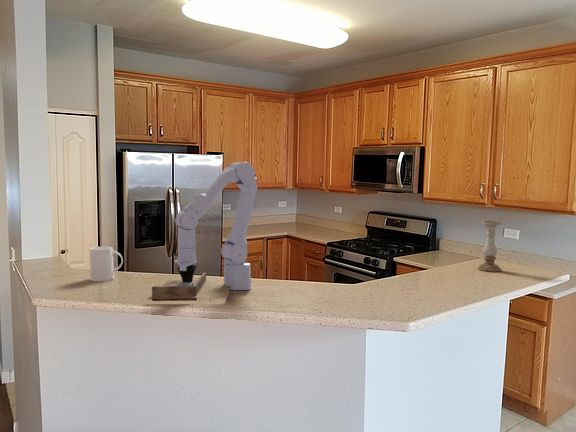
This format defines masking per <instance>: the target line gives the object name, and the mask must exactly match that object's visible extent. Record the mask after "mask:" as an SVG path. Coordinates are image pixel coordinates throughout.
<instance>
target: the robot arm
mask: <svg viewBox="0 0 576 432" xmlns="http://www.w3.org/2000/svg"><path fill="white" fill-rule="evenodd" d="M256 173H257V171H256V170H255V168H254V167H253V165H252V164H251V163H250V162H248V161H242V162H236V161H235V162H231V163H230V164H228V165H227V167H225V168H224V169H223V170H222V172H221V173H220V174H219V176H217V178H216V179H215V180H214V181H213V182H212V184H211V185H210V186H209V187H208V188H207V189H206V190H205V192H204V193H198V194H195V195H194V196H192V198H193V200H191V201H190V203H189V204H188V205H186V206H184V207H183V208H182V209H183V210H182V211H180V212H178V213H177V214H176V216H175V219H174V223H175V226H177V257H178V258H177V259H175V260H174V264H178V266H177V271H178V273H179V275H180V277H181V281H183V282H193V281H194V280H193V279H194V275H195V271H196V270H197V264H196V263H197V262H198V261H197V250H196V248H197V247H196V227H197V226H198V224H199V220H200V219H201V218H202V216H204V215H205V213H206V212H207V211H208V210H210V208H211V206H212V204H213V203H212V202H213V199H215V197H217V196H218V195H219V193H220V192H222V191H223V189H224V188H225V187H226V186H228V185H230V184H233V183H235V184H236V185H237V187H238V188H239V190H240V194H239V197H238V204H237V207H236V211H235V215H234V219H233V223H232V226H231V231H230V234H229V235H228V236H227V237H226V239H225V241H224V244H223V245H222V246H221V250H220V254H221V257H222V258H223V259H224V260H223V285H224V286H227V287H229V289H228V290H229V291H249V290H251V284H252V277H251V263H250V262H246V260H247V259H248V253H249V252H248V241H247V238H246V237H247V233H248V228H249V225H250V221H251V215H252V212H253V209H254V203H255V201H256V197H257V192H258V184H257V180H256V179H257V178H256Z"/></svg>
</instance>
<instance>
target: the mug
mask: <svg viewBox="0 0 576 432" xmlns="http://www.w3.org/2000/svg"><path fill="white" fill-rule="evenodd" d="M114 254H116V255H117V256H119V257H120V259H121V263H120V264H119V265H118V266H117V267H115V268H114ZM123 262H124V260H123V256H122V254H121V253H120V252H118V251H117V250H114V249H113V246H107V245H105V246H93V247H90V248H89V265H90V266H89V267H90V278H89V280H90V281H91V282H107V281H111V280H114V279H115V275H114V272H116V271H118V270H120V268H121V267H122V266H123Z"/></svg>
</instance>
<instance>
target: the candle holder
mask: <svg viewBox="0 0 576 432" xmlns="http://www.w3.org/2000/svg"><path fill="white" fill-rule="evenodd" d="M481 225H485V228H486V229H487V231H486V233H485V235H486V237H487V238H486V243H485V245H484V247H483V250H482V252H483V255H484V256H483V259H484V262H483V263H481V264H480V265H479V266H477V269H478V270H479V271H483V272H490V273H496V272H501V270H502V268H501V267H500V266H499V265H498V264H495V261H496V260H497V257H496V255H497V253H498V249H497V246H496V243H495V236H496V235H497V234H496V232H495V231H496V229H497V227H498V226H502V222H501V221H497V220H482V221H481Z"/></svg>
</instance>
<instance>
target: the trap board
mask: <svg viewBox="0 0 576 432" xmlns="http://www.w3.org/2000/svg"><path fill="white" fill-rule="evenodd" d="M180 282H183V281H182V280H166V282H165V283H164V284H163V285H161V286H159V285H157V286H156V285H155V286H151V296H152V297H154V298H151V300H152V302H184V301H185V302H188V301H189V302H190V301H194V302H195V301H197V300H198V299H197V298H198V297H197V295H198V294H199V292H200V291H201V290H202V288H203V286H204V284H205V283H206V282H207V272H206V271H205V272H202V274H201V275H200V277H199V278H198V279H197V280H196V281H195V282H196V283H194V286H177V285H178V284H179V283H180ZM161 297H164V298H161ZM166 297H167V298H166ZM175 297H176V298H175ZM177 297H180V298H177Z"/></svg>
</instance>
